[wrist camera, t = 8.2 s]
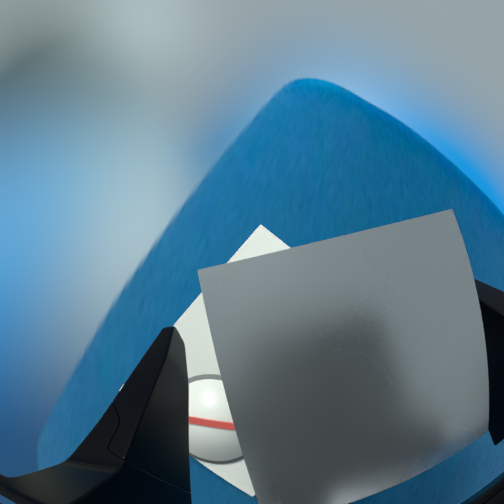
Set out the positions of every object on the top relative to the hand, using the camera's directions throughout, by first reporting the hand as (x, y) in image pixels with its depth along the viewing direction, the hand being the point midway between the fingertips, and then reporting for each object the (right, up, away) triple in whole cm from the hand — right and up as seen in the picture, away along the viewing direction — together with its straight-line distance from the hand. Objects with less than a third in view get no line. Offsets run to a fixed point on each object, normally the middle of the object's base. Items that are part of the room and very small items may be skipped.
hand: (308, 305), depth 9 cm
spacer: (+1, -3, +7) cm, 8 cm away
